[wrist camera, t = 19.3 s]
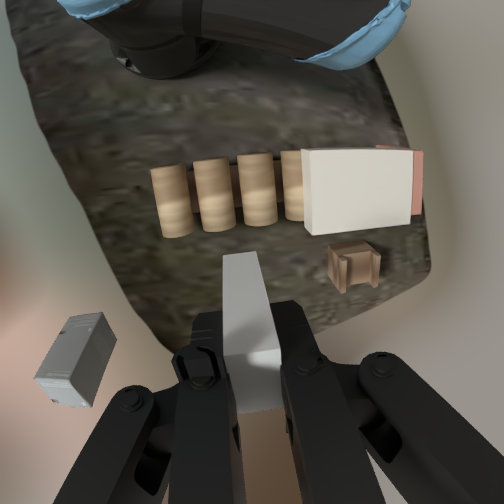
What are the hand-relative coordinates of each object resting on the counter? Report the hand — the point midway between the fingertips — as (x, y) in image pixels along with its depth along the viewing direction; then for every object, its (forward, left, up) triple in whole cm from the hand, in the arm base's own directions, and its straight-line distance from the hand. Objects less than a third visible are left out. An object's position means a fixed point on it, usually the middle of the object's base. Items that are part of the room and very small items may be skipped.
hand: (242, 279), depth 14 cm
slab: (0, +14, -20) cm, 24 cm away
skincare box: (+21, -28, -27) cm, 44 cm away
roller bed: (0, +6, -26) cm, 27 cm away
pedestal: (+13, +16, -26) cm, 34 cm away
